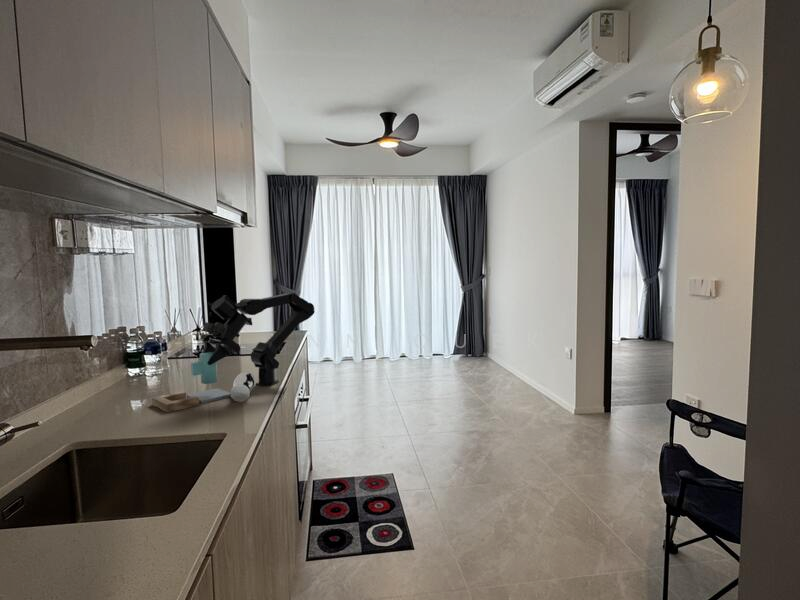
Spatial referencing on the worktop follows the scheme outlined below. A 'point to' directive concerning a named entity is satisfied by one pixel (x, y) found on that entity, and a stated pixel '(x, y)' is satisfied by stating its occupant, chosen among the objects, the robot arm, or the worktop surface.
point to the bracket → (174, 401)
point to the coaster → (210, 395)
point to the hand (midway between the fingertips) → (204, 363)
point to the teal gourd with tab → (205, 369)
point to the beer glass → (242, 387)
